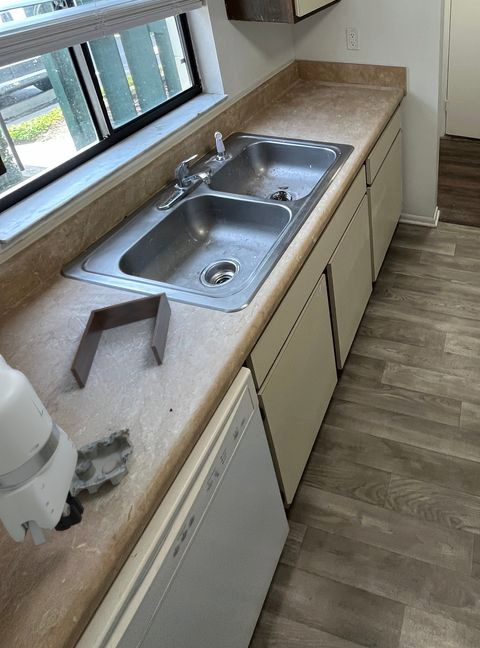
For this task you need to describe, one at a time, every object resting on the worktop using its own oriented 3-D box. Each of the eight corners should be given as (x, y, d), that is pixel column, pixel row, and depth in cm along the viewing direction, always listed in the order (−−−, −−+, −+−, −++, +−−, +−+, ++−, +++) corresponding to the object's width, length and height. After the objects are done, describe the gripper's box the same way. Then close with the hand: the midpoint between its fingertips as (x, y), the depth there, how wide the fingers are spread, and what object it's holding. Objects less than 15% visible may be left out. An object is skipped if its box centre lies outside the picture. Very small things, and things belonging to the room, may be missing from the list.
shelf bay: (80, 388, 89) (70, 369, 86) (99, 328, 102) (91, 310, 99) (162, 364, 93) (155, 345, 91) (171, 309, 106) (165, 291, 103)
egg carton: (138, 438, 80) (132, 425, 79) (127, 485, 74) (120, 472, 72) (71, 457, 78) (64, 444, 76) (54, 508, 71) (45, 495, 69)
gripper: (13, 405, 63) (59, 474, 71) (-44, 532, 50) (19, 600, 58) (74, 387, 65) (111, 456, 73) (34, 505, 52) (85, 574, 60)
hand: (71, 520), depth 65 cm, fingers closed
